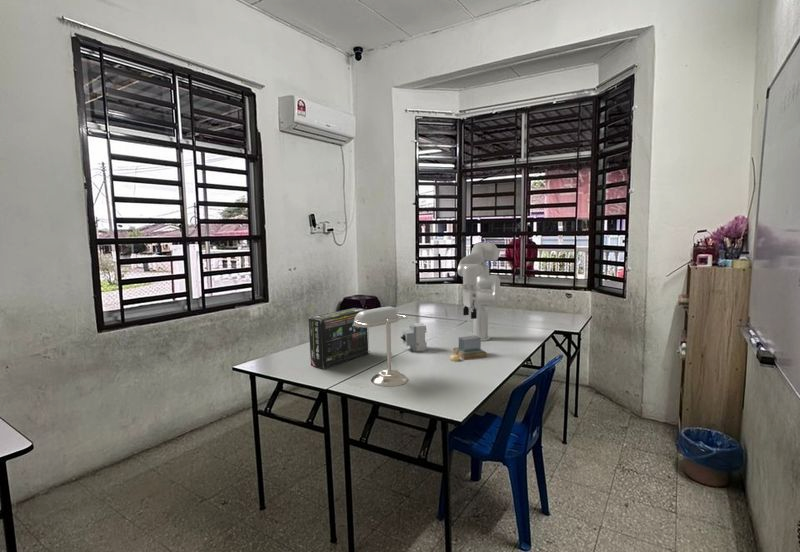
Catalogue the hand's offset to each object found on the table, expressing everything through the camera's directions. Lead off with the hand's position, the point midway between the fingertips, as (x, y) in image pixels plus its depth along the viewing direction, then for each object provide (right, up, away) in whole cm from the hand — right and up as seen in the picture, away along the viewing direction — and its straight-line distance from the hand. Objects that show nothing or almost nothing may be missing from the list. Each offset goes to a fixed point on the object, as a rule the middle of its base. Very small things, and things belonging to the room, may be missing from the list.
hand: (469, 316), depth 238 cm
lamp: (-47, -27, -34) cm, 64 cm away
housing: (0, -19, +2) cm, 19 cm away
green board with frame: (0, -22, +2) cm, 22 cm away
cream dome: (-10, -23, -7) cm, 26 cm away
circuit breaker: (-32, -21, +14) cm, 41 cm away
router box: (-73, -24, -4) cm, 77 cm away
